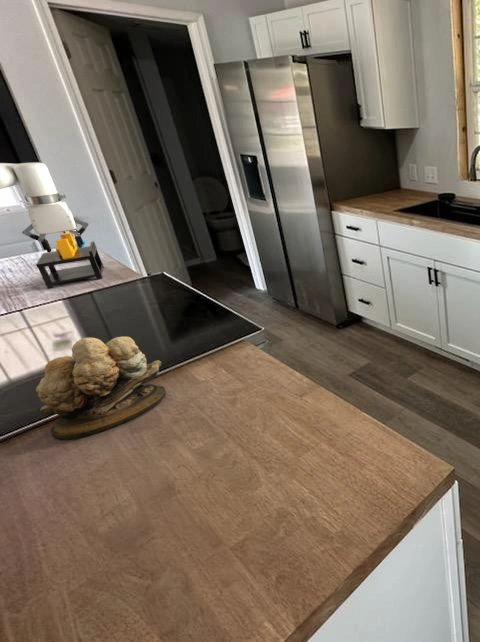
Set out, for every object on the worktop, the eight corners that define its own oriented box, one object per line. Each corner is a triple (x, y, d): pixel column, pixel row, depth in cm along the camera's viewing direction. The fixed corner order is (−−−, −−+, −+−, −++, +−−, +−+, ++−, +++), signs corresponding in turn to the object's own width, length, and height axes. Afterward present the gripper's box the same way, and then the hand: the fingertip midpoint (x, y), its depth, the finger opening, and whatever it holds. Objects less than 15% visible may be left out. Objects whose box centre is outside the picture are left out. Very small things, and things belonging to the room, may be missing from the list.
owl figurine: (166, 379, 92) (140, 311, 86) (177, 402, 85) (150, 330, 79) (51, 421, 80) (11, 345, 74) (52, 452, 73) (8, 371, 66)
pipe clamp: (61, 251, 151) (54, 234, 148) (77, 249, 153) (70, 232, 151) (56, 260, 142) (48, 242, 140) (73, 257, 144) (66, 239, 142)
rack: (47, 289, 141) (33, 260, 137) (53, 276, 152) (40, 249, 148) (102, 278, 150) (91, 251, 146) (104, 267, 161) (93, 241, 157)
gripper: (80, 195, 148) (99, 241, 155) (8, 202, 138) (31, 252, 144) (78, 198, 143) (98, 246, 150) (3, 205, 132) (28, 257, 139)
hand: (65, 248), depth 147 cm, fingers open, 7 cm apart
